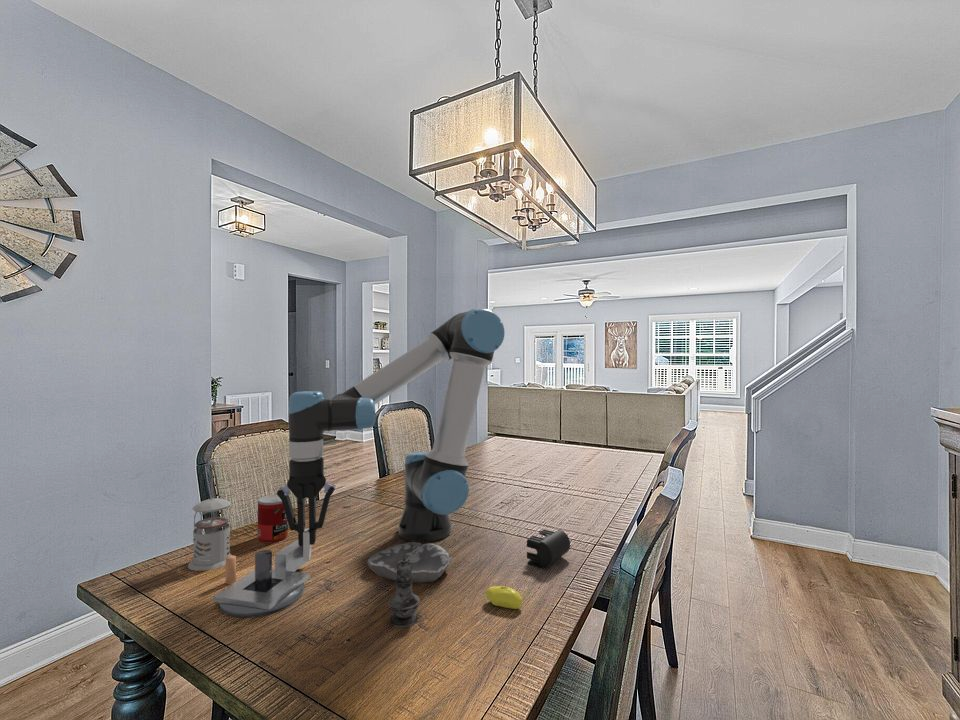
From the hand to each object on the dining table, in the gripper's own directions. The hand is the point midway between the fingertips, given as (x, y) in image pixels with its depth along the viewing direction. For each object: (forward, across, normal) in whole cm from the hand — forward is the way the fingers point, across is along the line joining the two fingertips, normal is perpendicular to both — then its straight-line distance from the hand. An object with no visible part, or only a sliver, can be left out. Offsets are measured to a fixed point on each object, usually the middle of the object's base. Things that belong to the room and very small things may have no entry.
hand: (307, 558), depth 106 cm
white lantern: (+3, +24, -11) cm, 27 cm away
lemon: (+4, -41, +23) cm, 47 cm away
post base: (+3, +7, +10) cm, 12 cm away
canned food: (+3, +13, -23) cm, 27 cm away
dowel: (+3, +16, +2) cm, 16 cm away
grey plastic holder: (+2, +6, +6) cm, 9 cm away
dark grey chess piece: (+4, -21, +24) cm, 32 cm away
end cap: (+4, -58, +6) cm, 58 cm away
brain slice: (+4, -24, +2) cm, 25 cm away
